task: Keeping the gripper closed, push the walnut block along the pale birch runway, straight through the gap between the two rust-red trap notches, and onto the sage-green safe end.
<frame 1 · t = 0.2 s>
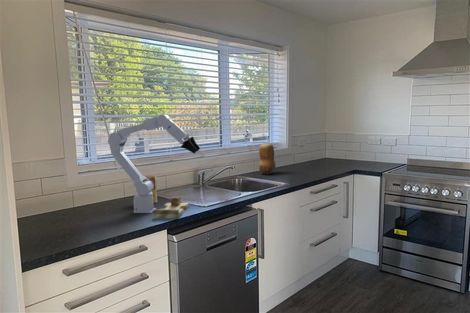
hand: (197, 151, 174), 31 cm above the worktop, tool tilted 45°, fingers open, 7 cm apart
trap runway: (172, 211, 178), on the worktop
butternut squash: (267, 174, 281), on the worktop
walnut block: (175, 204, 184), point 2 cm above the worktop, touching trap runway
candy box: (148, 202, 198), on the worktop
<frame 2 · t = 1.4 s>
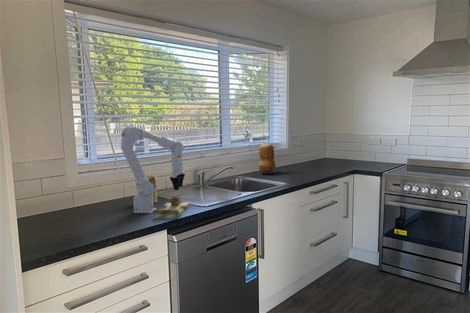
hand: (178, 188, 189), 9 cm above the worktop, tool pointing down, fingers open, 7 cm apart
nothing on the worktop moved.
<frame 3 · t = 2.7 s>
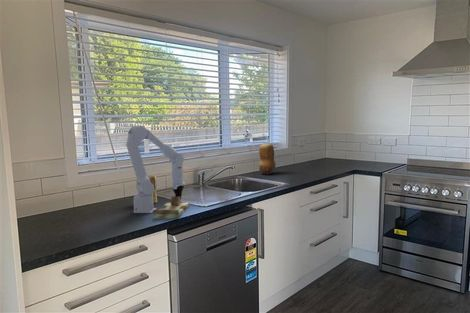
hand: (178, 199, 190), 3 cm above the worktop, tool pointing down, fingers closed
nothing on the worktop moved.
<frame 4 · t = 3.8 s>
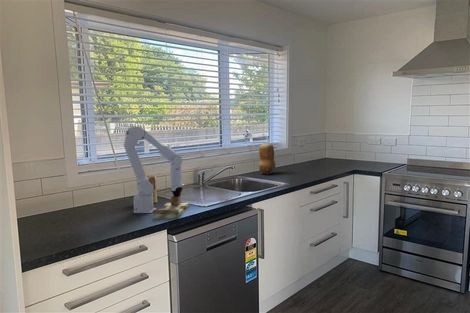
hand: (177, 201, 187), 3 cm above the worktop, tool pointing down, fingers closed
walnut block: (175, 204, 184), point 2 cm above the worktop, touching gripper, trap runway
everything else where it was.
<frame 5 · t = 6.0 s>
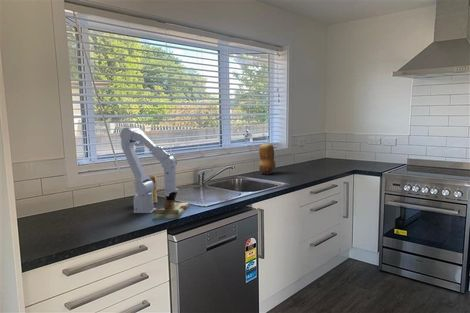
hand: (171, 206, 176), 3 cm above the worktop, tool pointing down, fingers closed
walnut block: (169, 209, 173), point 3 cm above the worktop, tilted 16°, touching gripper
everything else where it was.
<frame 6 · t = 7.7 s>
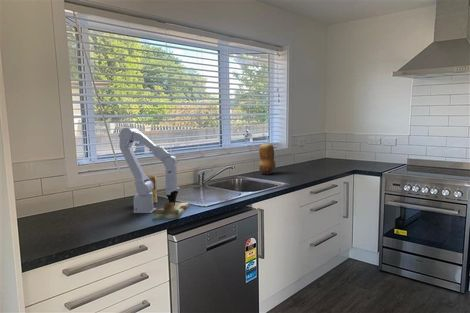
hand: (172, 205, 178), 3 cm above the worktop, tool pointing down, fingers closed
walnut block: (168, 211, 172), point 2 cm above the worktop, touching trap runway
everything else where it was.
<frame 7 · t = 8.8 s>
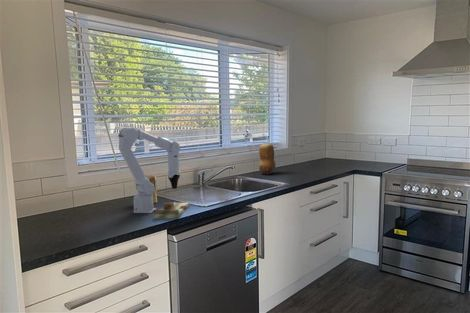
hand: (174, 188, 189), 9 cm above the worktop, tool pointing down, fingers closed
nothing on the worktop moved.
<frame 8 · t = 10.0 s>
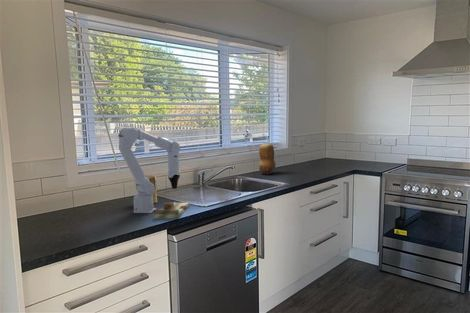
hand: (174, 188, 189), 9 cm above the worktop, tool pointing down, fingers closed
nothing on the worktop moved.
at the end: walnut block inside the target area (0.8 cm from its centre), point 2.0 cm above the worktop; walnut block tilted 0° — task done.
